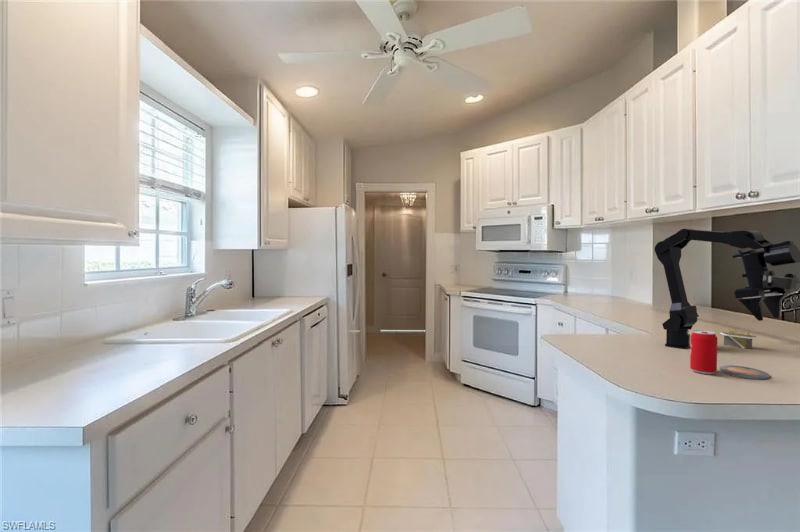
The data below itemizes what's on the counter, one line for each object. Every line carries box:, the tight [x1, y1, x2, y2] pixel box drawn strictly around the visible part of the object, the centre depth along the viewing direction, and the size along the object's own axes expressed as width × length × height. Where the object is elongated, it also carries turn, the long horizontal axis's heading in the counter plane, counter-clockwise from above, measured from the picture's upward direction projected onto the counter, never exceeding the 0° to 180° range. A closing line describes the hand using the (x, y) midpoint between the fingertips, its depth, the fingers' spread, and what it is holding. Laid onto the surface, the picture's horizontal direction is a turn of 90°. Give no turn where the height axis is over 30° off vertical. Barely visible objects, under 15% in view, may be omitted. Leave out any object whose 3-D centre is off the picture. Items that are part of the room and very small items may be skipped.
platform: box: [720, 328, 757, 349], centre depth 142 cm, size 12×18×7 cm, turn 41°
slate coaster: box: [718, 364, 770, 380], centre depth 114 cm, size 11×11×1 cm
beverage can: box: [689, 329, 718, 375], centre depth 115 cm, size 6×6×12 cm
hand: (768, 319), depth 120 cm, fingers open, 9 cm apart
